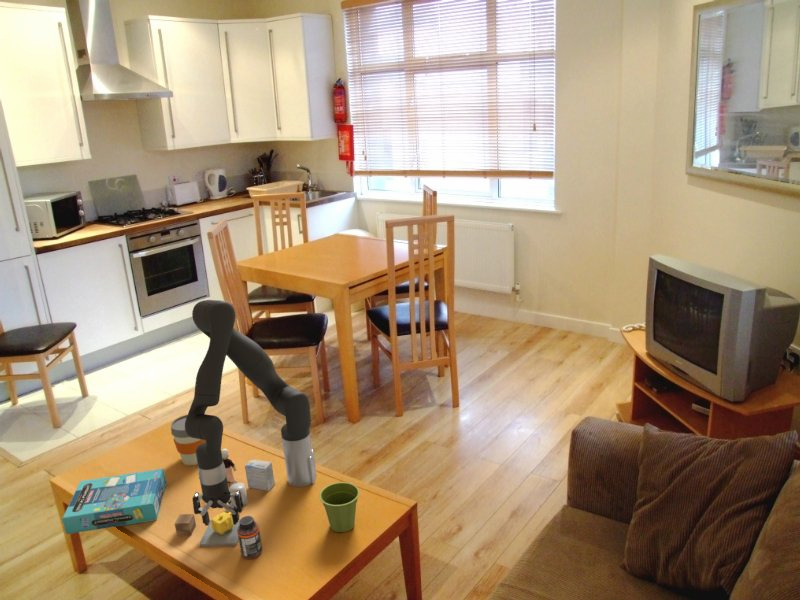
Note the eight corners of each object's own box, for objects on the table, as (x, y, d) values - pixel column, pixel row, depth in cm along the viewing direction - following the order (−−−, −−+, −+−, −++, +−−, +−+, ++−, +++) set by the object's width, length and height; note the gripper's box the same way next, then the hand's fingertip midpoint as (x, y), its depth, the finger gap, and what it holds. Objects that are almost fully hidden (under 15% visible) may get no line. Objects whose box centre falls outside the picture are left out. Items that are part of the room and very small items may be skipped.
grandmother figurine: (241, 478, 227) (236, 446, 223) (238, 485, 224) (232, 452, 220) (220, 479, 228) (214, 446, 224) (216, 485, 225) (210, 452, 221)
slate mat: (246, 521, 205) (245, 519, 205) (236, 545, 195) (236, 542, 194) (211, 522, 206) (210, 520, 205) (199, 546, 195) (199, 544, 195)
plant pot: (348, 542, 192) (345, 509, 189) (315, 531, 198) (311, 499, 194) (370, 519, 202) (367, 487, 198) (337, 509, 208) (334, 478, 204)
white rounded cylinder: (249, 498, 216) (246, 482, 215) (245, 507, 212) (242, 491, 210) (234, 498, 217) (231, 482, 215) (230, 508, 212) (227, 492, 210)
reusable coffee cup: (186, 449, 249) (179, 413, 244) (218, 449, 247) (212, 413, 242) (171, 467, 237) (163, 430, 232) (204, 468, 235) (197, 431, 231)
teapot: (219, 542, 195) (217, 527, 194) (207, 534, 199) (204, 520, 197) (241, 527, 201) (238, 512, 199) (229, 520, 205) (226, 506, 203)
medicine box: (275, 484, 223) (272, 461, 220) (268, 491, 219) (265, 468, 216) (254, 480, 226) (251, 458, 223) (248, 488, 222) (244, 465, 219)
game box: (167, 483, 228) (84, 496, 224) (163, 467, 225) (80, 480, 222) (157, 520, 208) (66, 535, 205) (153, 503, 206) (61, 518, 203)
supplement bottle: (243, 547, 194) (237, 514, 190) (263, 544, 194) (258, 512, 190) (240, 561, 188) (234, 527, 184) (261, 558, 188) (255, 525, 185)
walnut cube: (196, 526, 205) (193, 513, 203) (191, 535, 200) (188, 523, 199) (182, 526, 205) (179, 514, 204) (177, 535, 201) (174, 523, 199)
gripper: (240, 468, 197) (248, 514, 202) (193, 470, 198) (202, 516, 203) (233, 483, 190) (241, 530, 195) (184, 485, 191) (194, 532, 196)
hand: (221, 523), depth 199 cm, fingers open, 8 cm apart
